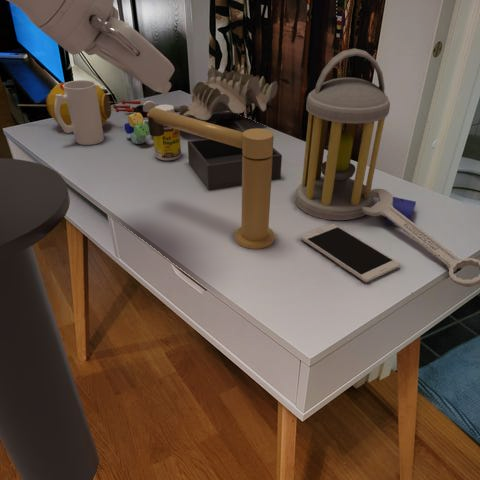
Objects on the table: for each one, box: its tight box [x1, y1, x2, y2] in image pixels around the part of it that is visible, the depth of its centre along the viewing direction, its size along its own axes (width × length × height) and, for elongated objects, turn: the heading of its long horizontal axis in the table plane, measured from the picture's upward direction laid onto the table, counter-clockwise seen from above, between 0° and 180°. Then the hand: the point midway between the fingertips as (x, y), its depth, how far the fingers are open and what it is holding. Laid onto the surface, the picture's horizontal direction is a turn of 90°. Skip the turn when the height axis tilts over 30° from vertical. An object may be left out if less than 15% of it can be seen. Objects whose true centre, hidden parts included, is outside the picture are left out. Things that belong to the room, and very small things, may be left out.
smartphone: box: [300, 223, 401, 283], centre depth 76 cm, size 8×1×15 cm
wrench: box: [361, 188, 480, 288], centre depth 77 cm, size 26×6×2 cm, turn 30°
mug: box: [54, 79, 105, 146], centre depth 107 cm, size 10×7×12 cm, turn 130°
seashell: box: [178, 68, 279, 121], centre depth 117 cm, size 28×18×15 cm, turn 132°
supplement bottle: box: [152, 104, 182, 161], centre depth 102 cm, size 6×6×10 cm
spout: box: [147, 108, 275, 159], centre depth 75 cm, size 24×4×5 cm, turn 53°
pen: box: [128, 105, 182, 114], centre depth 126 cm, size 1×16×1 cm, turn 102°
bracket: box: [382, 196, 417, 226], centre depth 85 cm, size 9×5×3 cm, turn 158°
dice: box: [123, 112, 150, 145], centre depth 109 cm, size 8×3×6 cm, turn 36°
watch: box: [135, 100, 159, 119], centre depth 124 cm, size 8×5×4 cm, turn 108°
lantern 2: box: [17, 81, 142, 127], centre depth 115 cm, size 10×10×30 cm
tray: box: [187, 138, 283, 191], centre depth 98 cm, size 15×13×5 cm
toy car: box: [213, 116, 257, 132], centre depth 114 cm, size 6×12×4 cm, turn 37°
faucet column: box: [234, 155, 275, 250], centre depth 75 cm, size 6×6×14 cm
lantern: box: [294, 48, 391, 221], centre depth 81 cm, size 14×14×25 cm
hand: (164, 88), depth 67 cm, fingers closed
